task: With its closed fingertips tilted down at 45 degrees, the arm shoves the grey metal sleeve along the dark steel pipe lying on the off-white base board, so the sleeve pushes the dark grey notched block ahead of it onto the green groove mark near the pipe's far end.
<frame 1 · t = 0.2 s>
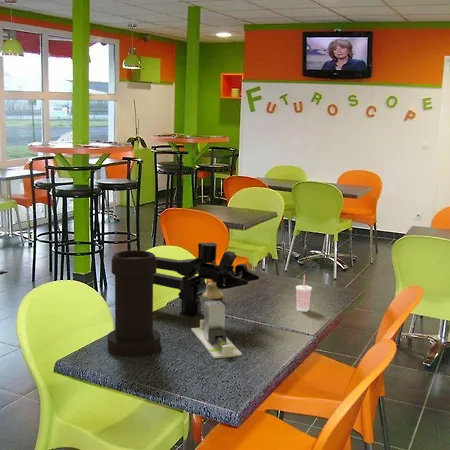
hand: (253, 280, 214), 16 cm above the table, tool horizontal, fingers open, 9 cm apart
base board: (215, 342, 199), on the table
hand bell: (213, 296, 251), on the table
beverage cup: (302, 310, 236), on the table
steel pipe: (215, 335, 199), point 2 cm above the table
pipe: (134, 347, 194), on the table
dark grey notched block: (217, 336, 197), point 3 cm above the table, slide at 0.0 cm
sleeve: (214, 320, 200), point 7 cm above the table, slide at 0.0 cm
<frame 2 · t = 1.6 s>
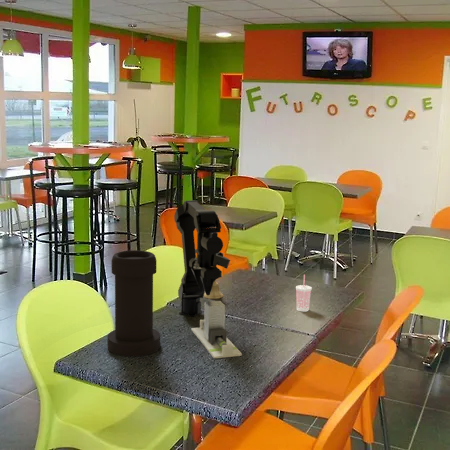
hand: (204, 292, 210), 13 cm above the table, tool pointing down, fingers open, 8 cm apart
nothing on the table moved.
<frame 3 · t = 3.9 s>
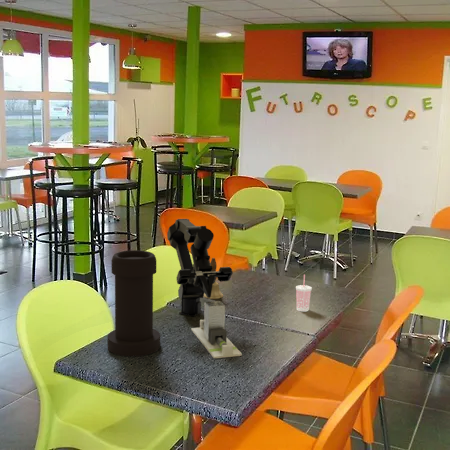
hand: (209, 297, 205), 13 cm above the table, tool tilted 45°, fingers closed
nothing on the table moved.
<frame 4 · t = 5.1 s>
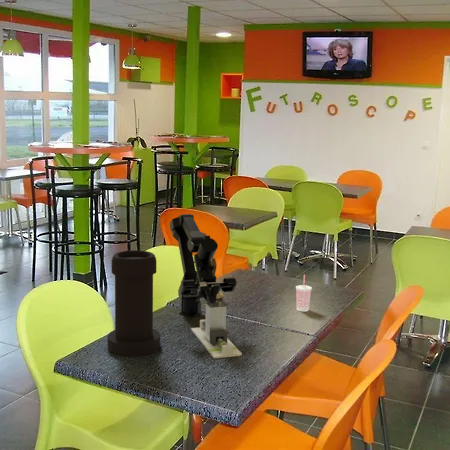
hand: (213, 308, 201), 10 cm above the table, tool tilted 45°, fingers closed, pressing on sleeve
dark grey notched block: (218, 337, 196), point 3 cm above the table, slide at 0.9 cm, touching sleeve
sleeve: (215, 322, 199), point 7 cm above the table, slide at 1.4 cm, touching gripper, dark grey notched block
everything else where it was.
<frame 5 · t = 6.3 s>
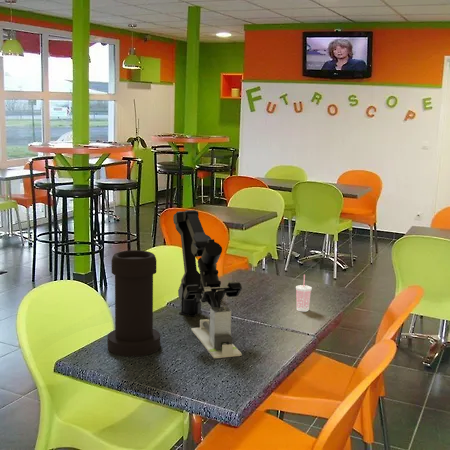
hand: (217, 314, 196), 10 cm above the table, tool tilted 45°, fingers closed, pressing on sleeve
dark grey notched block: (223, 342, 191), point 3 cm above the table, slide at 5.7 cm, touching sleeve
sleeve: (220, 326, 194), point 7 cm above the table, slide at 6.2 cm, touching gripper, dark grey notched block
everything else where it was.
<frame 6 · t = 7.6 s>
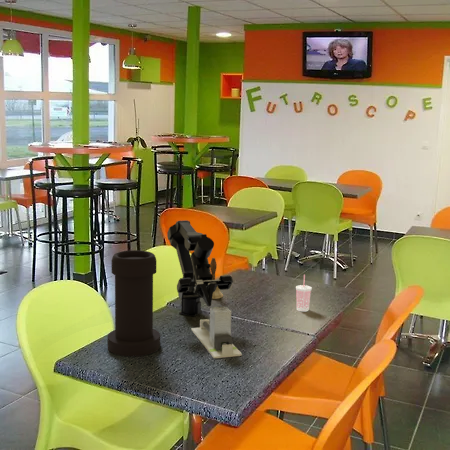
hand: (209, 306, 205), 10 cm above the table, tool tilted 45°, fingers closed
sleeve: (220, 326, 194), point 7 cm above the table, slide at 6.2 cm, touching dark grey notched block
everything else where it was.
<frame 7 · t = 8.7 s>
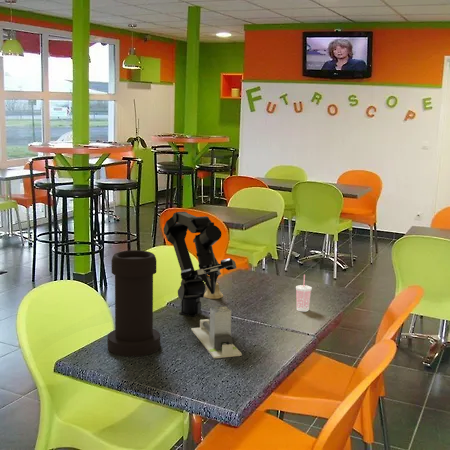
hand: (213, 293, 208), 13 cm above the table, tool tilted 30°, fingers closed
nothing on the table moved.
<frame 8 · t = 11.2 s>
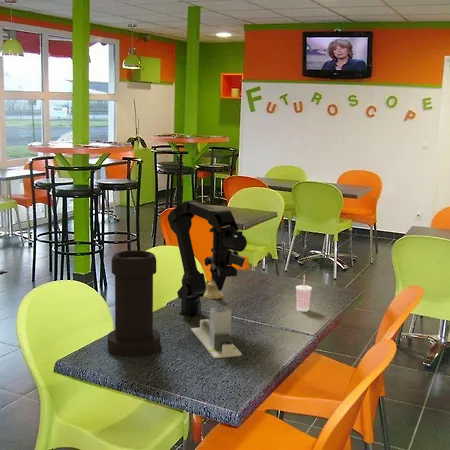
hand: (219, 290, 213), 13 cm above the table, tool pointing down, fingers closed
nothing on the table moved.
at the end: dark grey notched block slide at 5.7 cm; sleeve slide at 6.2 cm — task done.
